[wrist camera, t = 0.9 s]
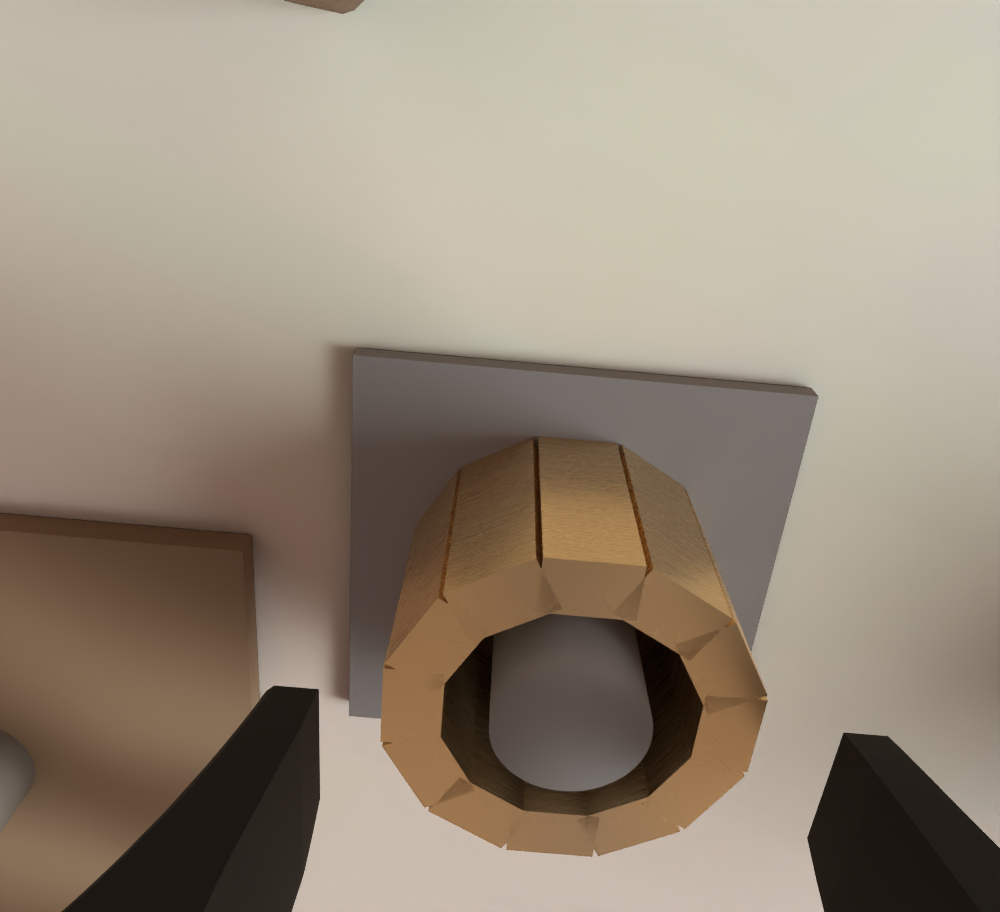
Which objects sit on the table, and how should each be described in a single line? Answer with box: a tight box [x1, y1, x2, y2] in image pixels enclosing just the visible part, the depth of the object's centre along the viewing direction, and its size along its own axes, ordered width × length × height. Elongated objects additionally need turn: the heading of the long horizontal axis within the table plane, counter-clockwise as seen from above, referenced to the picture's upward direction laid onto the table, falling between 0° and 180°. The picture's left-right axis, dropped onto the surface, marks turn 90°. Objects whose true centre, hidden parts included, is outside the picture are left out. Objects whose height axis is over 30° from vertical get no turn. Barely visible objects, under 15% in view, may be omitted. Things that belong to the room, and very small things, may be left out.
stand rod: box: [349, 348, 818, 791], centre depth 14 cm, size 8×8×5 cm
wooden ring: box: [381, 436, 768, 857], centre depth 14 cm, size 6×6×4 cm
